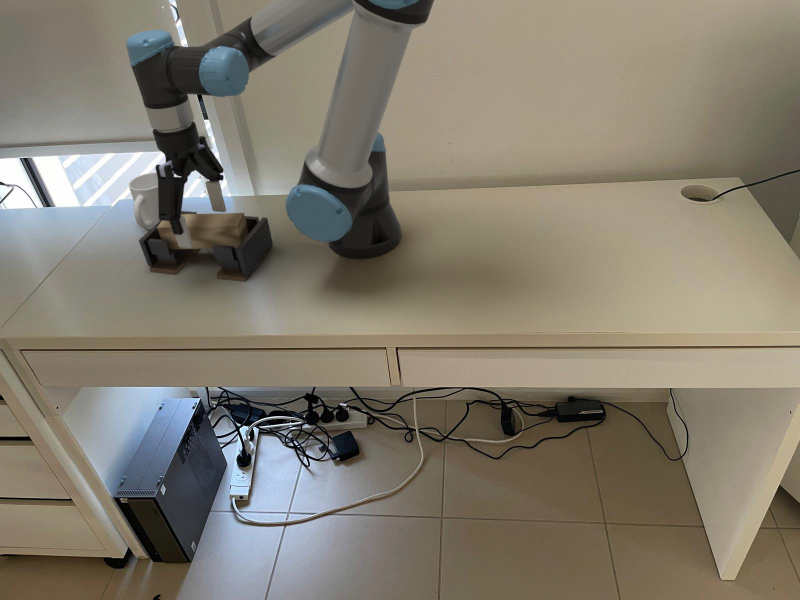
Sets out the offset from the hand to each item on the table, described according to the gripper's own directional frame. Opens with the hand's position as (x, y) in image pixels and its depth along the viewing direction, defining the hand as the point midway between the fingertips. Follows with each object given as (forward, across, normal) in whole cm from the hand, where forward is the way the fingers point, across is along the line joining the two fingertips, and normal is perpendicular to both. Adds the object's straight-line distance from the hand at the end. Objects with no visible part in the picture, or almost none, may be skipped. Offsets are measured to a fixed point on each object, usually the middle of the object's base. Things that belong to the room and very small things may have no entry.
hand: (203, 228), depth 126 cm
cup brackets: (+7, 0, 0) cm, 7 cm away
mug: (+7, -10, -19) cm, 23 cm away
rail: (+3, 0, 0) cm, 3 cm away
